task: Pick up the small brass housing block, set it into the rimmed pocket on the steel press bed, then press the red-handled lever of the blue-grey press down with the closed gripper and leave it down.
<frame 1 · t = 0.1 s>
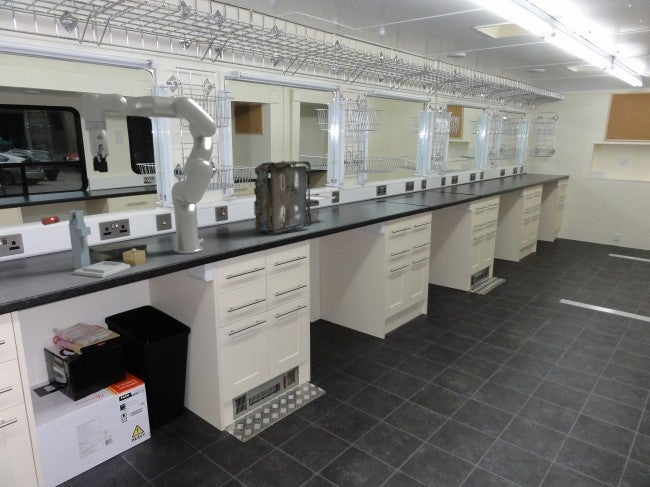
hand: (100, 171, 179), 37 cm above the counter, tool pointing down, fingers open, 9 cm apart
stone block: (118, 256, 198), on the counter
lever: (61, 218, 168), point 21 cm above the counter, hinge at 0.0°
housing: (135, 263, 186), on the counter
press: (96, 270, 176), on the counter
solar panel model: (309, 220, 281), on the counter
machinery component: (278, 231, 249), on the counter
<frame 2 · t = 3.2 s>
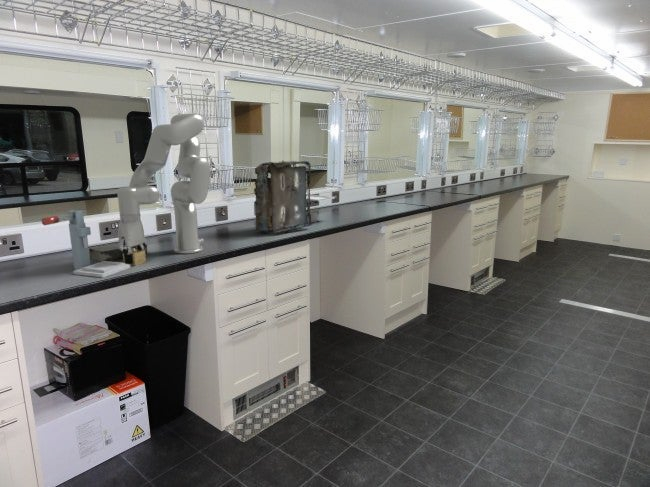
hand: (134, 261, 185), 1 cm above the counter, tool pointing down, fingers closed on housing, 6 cm apart
housing: (134, 263, 186), on the counter, touching gripper
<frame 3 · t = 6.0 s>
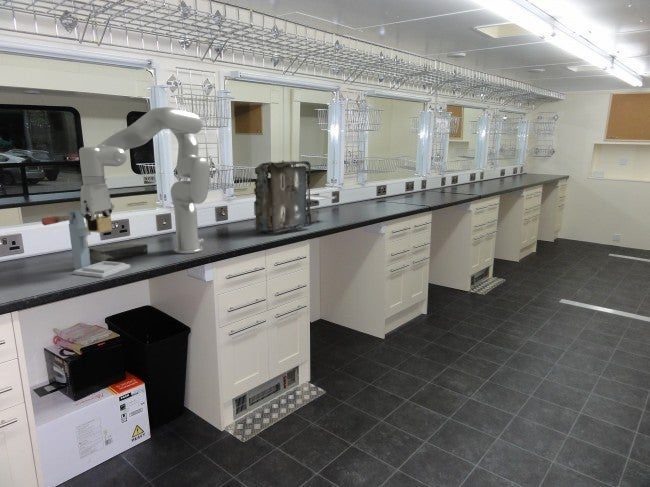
hand: (99, 228, 171), 17 cm above the counter, tool pointing down, fingers closed on housing, 6 cm apart
housing: (99, 230, 171), point 16 cm above the counter, touching gripper
when the fingers open (3 cm above the counter, at t = 8.8 s): housing drops 1 cm, resting on press.
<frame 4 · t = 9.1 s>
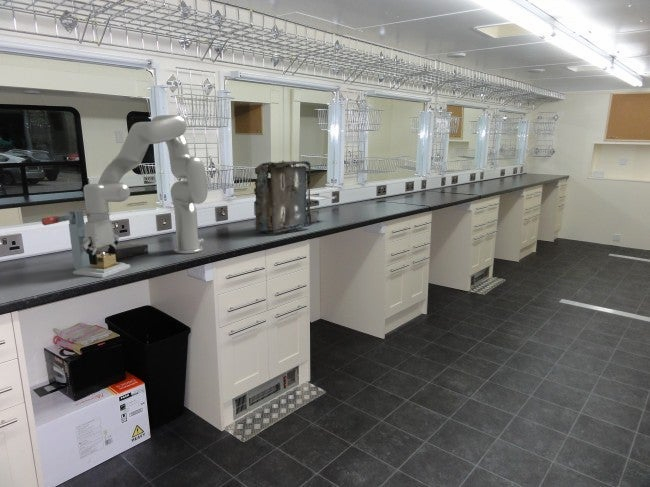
hand: (103, 261, 174), 4 cm above the counter, tool pointing down, fingers open, 9 cm apart
housing: (104, 267, 175), point 1 cm above the counter, touching press
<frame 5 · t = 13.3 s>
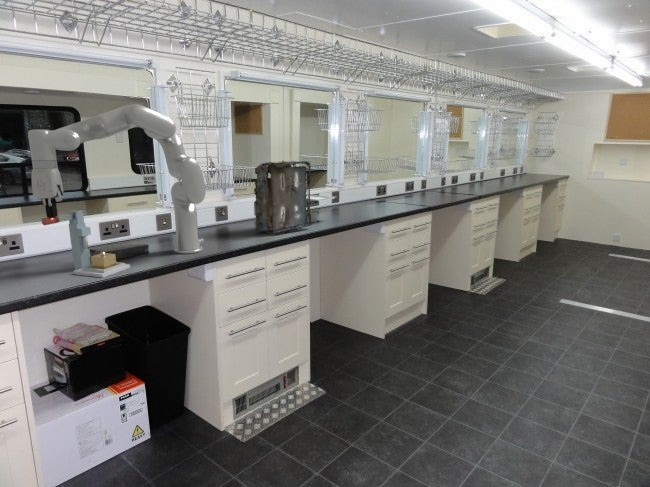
hand: (52, 216, 164), 22 cm above the counter, tool pointing down, fingers closed
lever: (61, 218, 168), point 21 cm above the counter, hinge at 0.0°, touching gripper
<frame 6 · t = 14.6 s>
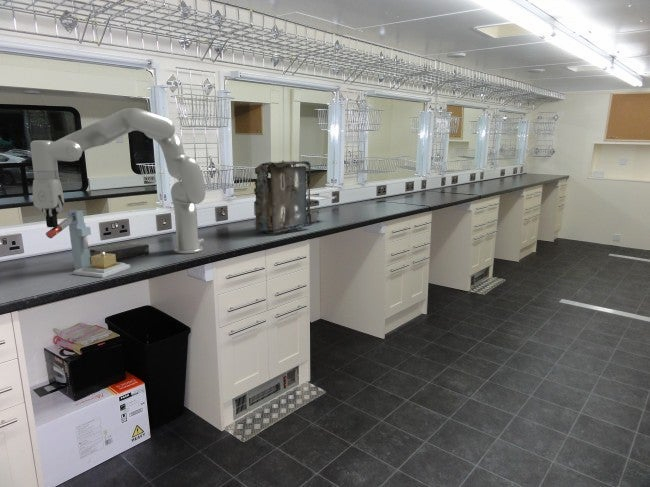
hand: (52, 226, 165), 19 cm above the counter, tool pointing down, fingers closed
lever: (63, 224, 169), point 19 cm above the counter, hinge at 22.7°, touching gripper
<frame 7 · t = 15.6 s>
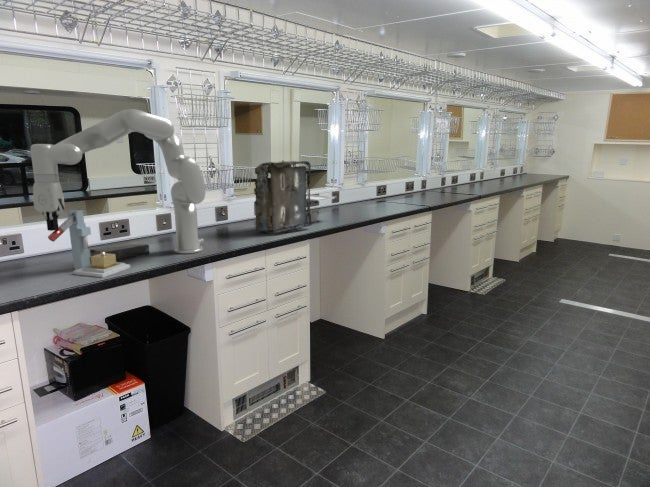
hand: (53, 229, 165), 17 cm above the counter, tool pointing down, fingers closed
lever: (64, 226, 169), point 18 cm above the counter, hinge at 29.3°, touching gripper
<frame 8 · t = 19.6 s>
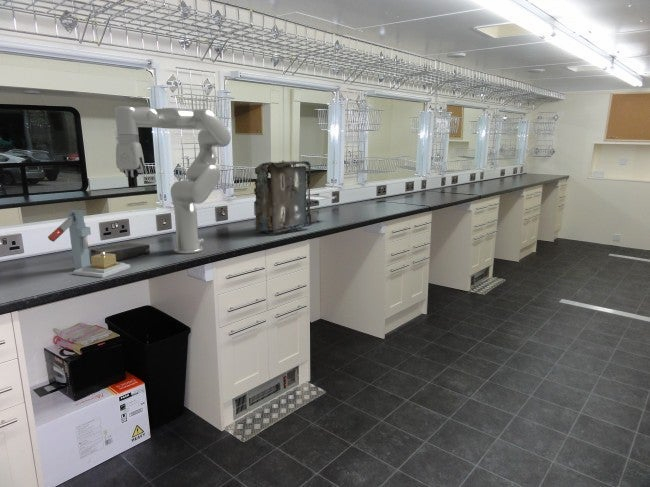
hand: (133, 187, 179), 31 cm above the counter, tool pointing down, fingers closed
lever: (64, 226, 169), point 18 cm above the counter, hinge at 29.4°
at the end: housing 0.1 cm from the target spot on the press, point 1.2 cm above the press's base; housing tilted 0°; lever at +29° (first picture: +0°) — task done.
